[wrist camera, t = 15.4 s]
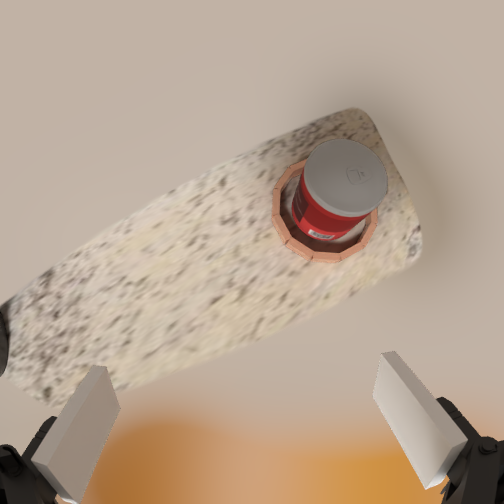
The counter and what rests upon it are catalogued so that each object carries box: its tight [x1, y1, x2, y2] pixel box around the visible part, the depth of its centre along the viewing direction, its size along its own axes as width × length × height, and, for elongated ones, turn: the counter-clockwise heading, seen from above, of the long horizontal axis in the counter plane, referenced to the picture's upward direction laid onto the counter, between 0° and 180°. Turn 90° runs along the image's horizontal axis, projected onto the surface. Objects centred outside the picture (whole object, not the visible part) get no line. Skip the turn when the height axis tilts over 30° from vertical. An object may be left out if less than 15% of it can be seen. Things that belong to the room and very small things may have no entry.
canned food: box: [292, 139, 388, 241], centre depth 30 cm, size 8×8×11 cm
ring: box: [271, 159, 378, 263], centre depth 35 cm, size 13×13×2 cm
